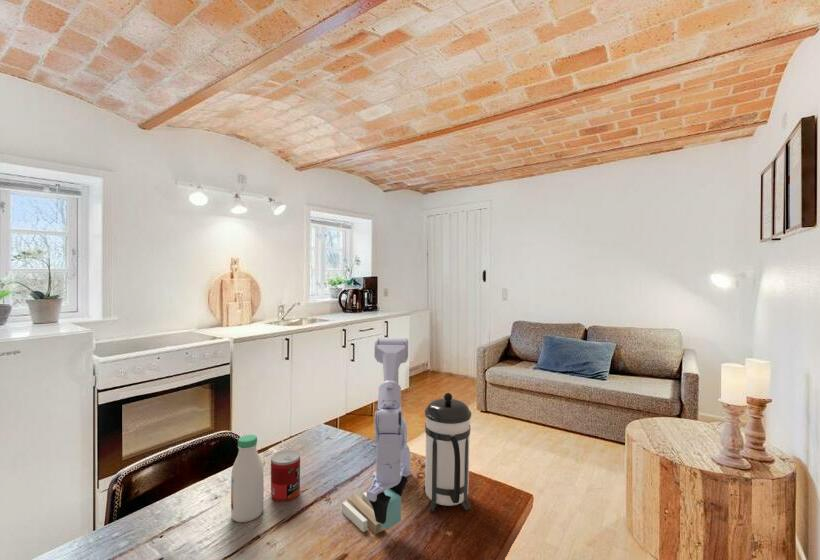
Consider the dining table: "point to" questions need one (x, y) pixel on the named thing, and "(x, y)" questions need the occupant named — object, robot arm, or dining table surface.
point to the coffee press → (447, 452)
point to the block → (392, 509)
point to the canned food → (285, 475)
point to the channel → (356, 513)
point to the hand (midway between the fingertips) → (387, 514)
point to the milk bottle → (247, 481)
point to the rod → (365, 512)
